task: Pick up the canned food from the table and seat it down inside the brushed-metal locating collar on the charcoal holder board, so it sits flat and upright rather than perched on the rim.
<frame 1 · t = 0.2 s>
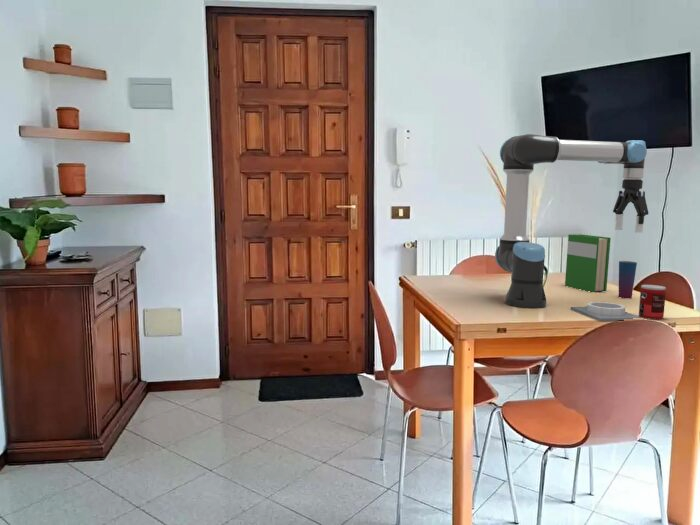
hand: (628, 231, 248), 28 cm above the table, fingers open, 13 cm apart
canned food: (650, 317, 214), on the table
hardback book: (585, 289, 272), on the table
holder: (605, 314, 215), on the table
cup: (625, 298, 252), on the table
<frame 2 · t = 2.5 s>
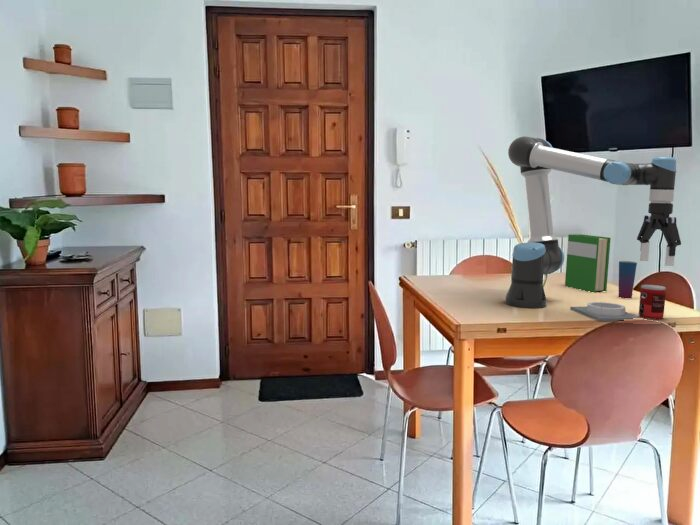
hand: (656, 263, 211), 19 cm above the table, fingers open, 13 cm apart
nothing on the table moved.
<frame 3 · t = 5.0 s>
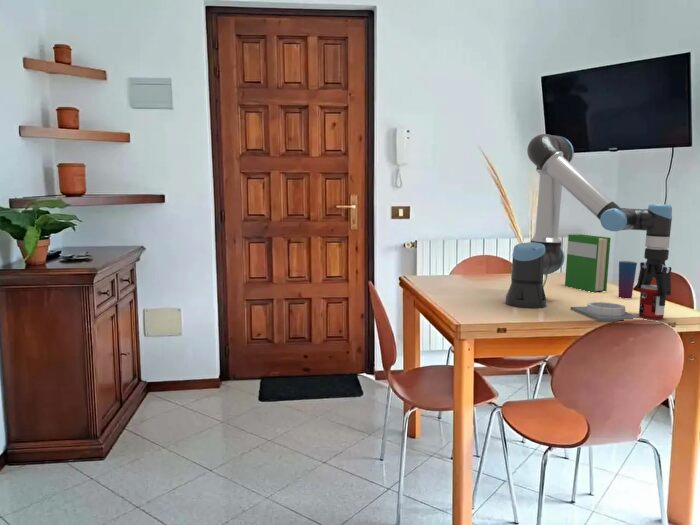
hand: (651, 312, 213), 2 cm above the table, fingers closed on canned food, 8 cm apart
canned food: (650, 317, 214), on the table, touching gripper
everything else where it was.
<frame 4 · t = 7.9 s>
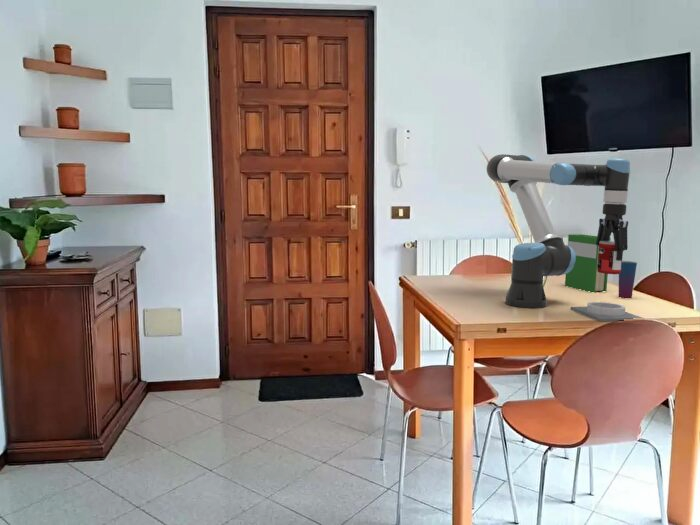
hand: (609, 267, 213), 17 cm above the table, fingers closed on canned food, 8 cm apart
canned food: (608, 273, 214), point 15 cm above the table, touching gripper
everything else where it was.
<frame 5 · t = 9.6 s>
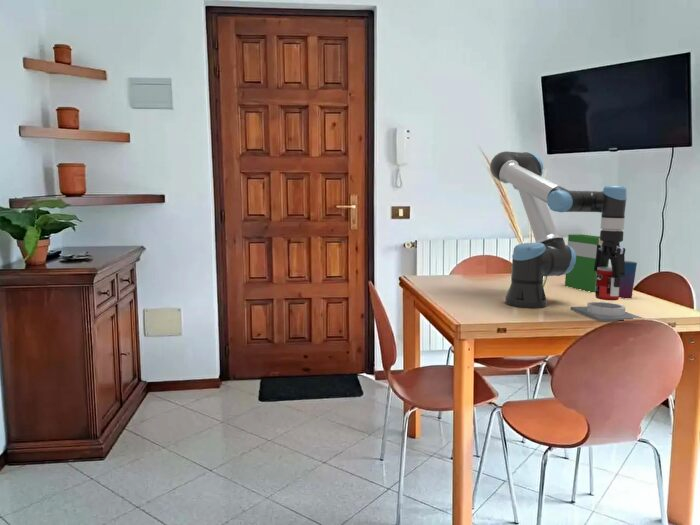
hand: (607, 293, 214), 8 cm above the table, fingers closed on canned food, 8 cm apart
canned food: (606, 299, 214), point 6 cm above the table, touching gripper
everything else where it was.
when the fingers open (6 cm above the table, at t = 10.9 s): canned food drops 3 cm, resting on holder.
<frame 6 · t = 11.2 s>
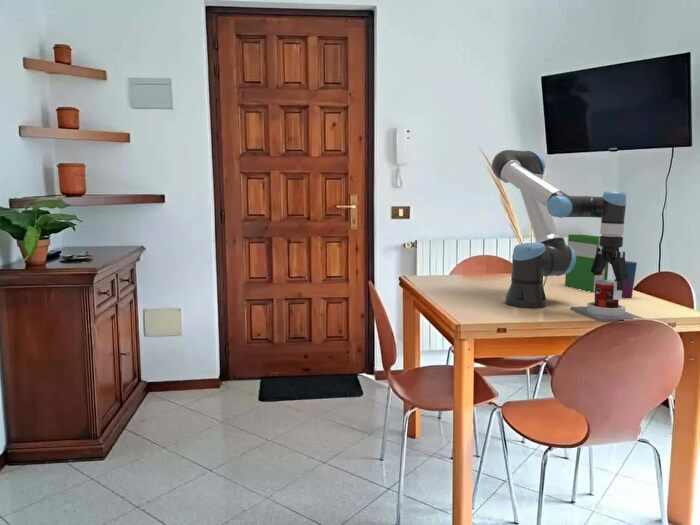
hand: (606, 296, 214), 7 cm above the table, fingers open, 12 cm apart
canned food: (605, 312, 215), point 1 cm above the table, touching holder
everything else where it was.
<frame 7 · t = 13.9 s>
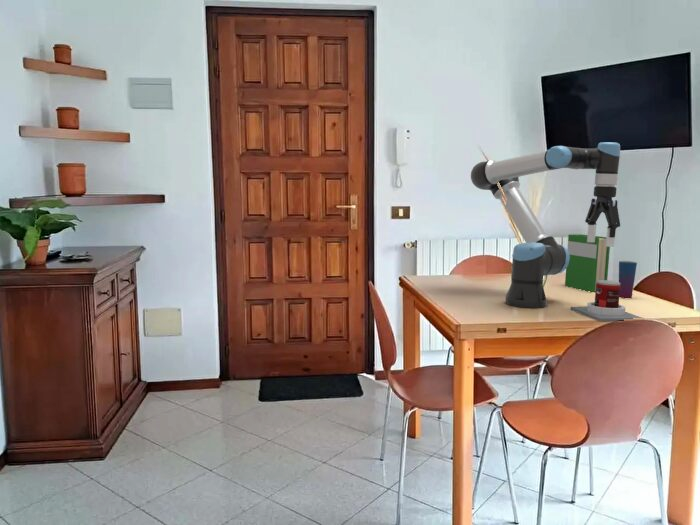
hand: (599, 244, 220), 25 cm above the table, fingers open, 13 cm apart
nothing on the table moved.
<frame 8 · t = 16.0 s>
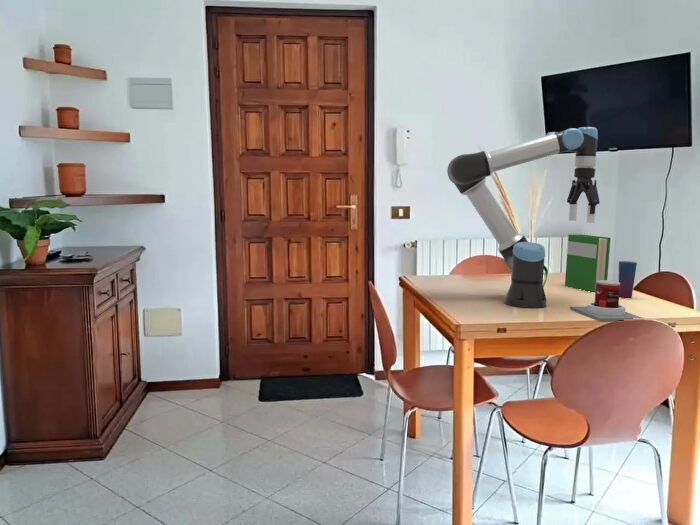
hand: (581, 221, 239), 32 cm above the table, fingers open, 13 cm apart
nothing on the table moved.
at the end: canned food 0.3 cm off-centre on the holder, point 0.8 cm above the holder's base; canned food tilted 0°; the gripper is holding nothing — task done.
